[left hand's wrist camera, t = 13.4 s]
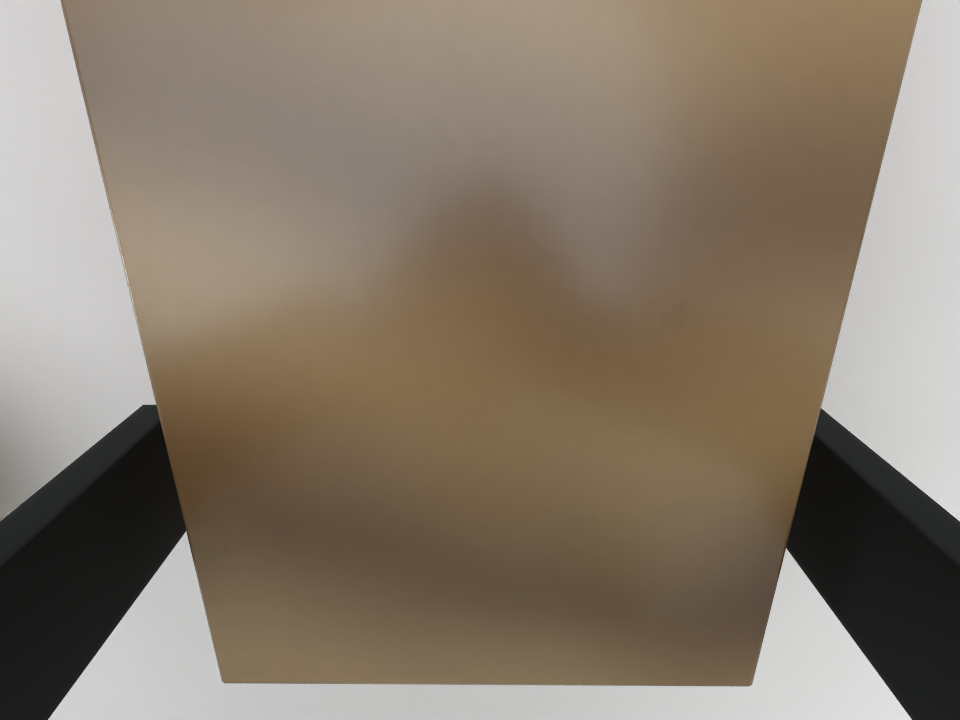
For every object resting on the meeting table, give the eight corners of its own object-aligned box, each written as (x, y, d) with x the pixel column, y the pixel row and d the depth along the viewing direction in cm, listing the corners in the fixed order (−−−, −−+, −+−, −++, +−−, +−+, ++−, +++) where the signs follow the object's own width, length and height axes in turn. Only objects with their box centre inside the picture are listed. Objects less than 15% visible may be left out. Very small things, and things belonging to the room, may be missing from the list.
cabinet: (247, -355, 12) (-284, -1425, 4) (730, -358, 12) (1289, -1456, 4) (334, 443, 19) (221, 685, 11) (636, 444, 19) (753, 688, 11)
